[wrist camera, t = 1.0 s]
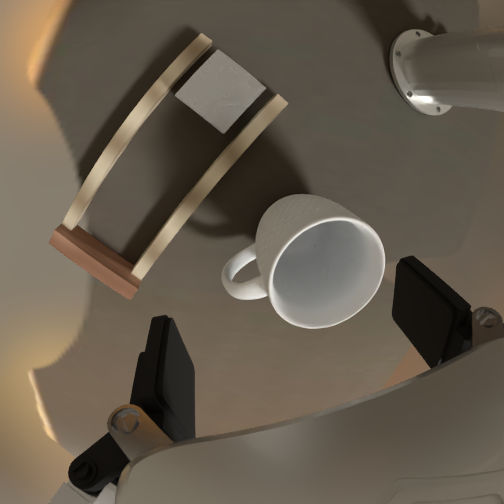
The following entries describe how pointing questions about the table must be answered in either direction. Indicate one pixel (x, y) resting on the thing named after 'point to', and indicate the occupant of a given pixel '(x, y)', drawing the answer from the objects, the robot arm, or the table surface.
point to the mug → (311, 262)
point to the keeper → (220, 91)
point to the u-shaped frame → (129, 276)
